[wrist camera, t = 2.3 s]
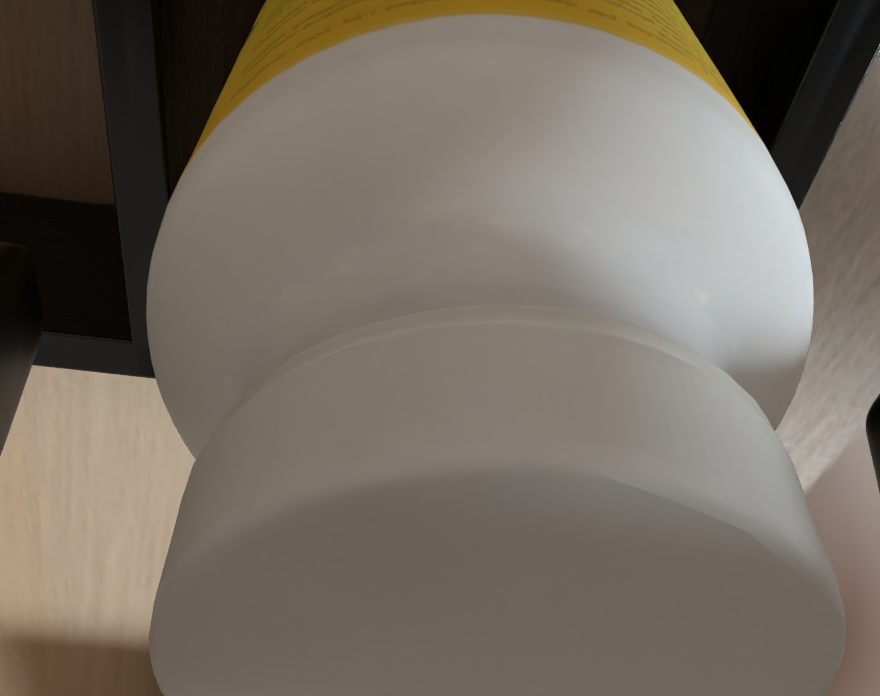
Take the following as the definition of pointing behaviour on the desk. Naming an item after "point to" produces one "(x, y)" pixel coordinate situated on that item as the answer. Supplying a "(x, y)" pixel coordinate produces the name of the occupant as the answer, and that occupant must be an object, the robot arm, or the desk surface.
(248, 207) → the pill bottle
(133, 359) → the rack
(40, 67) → the desk surface
